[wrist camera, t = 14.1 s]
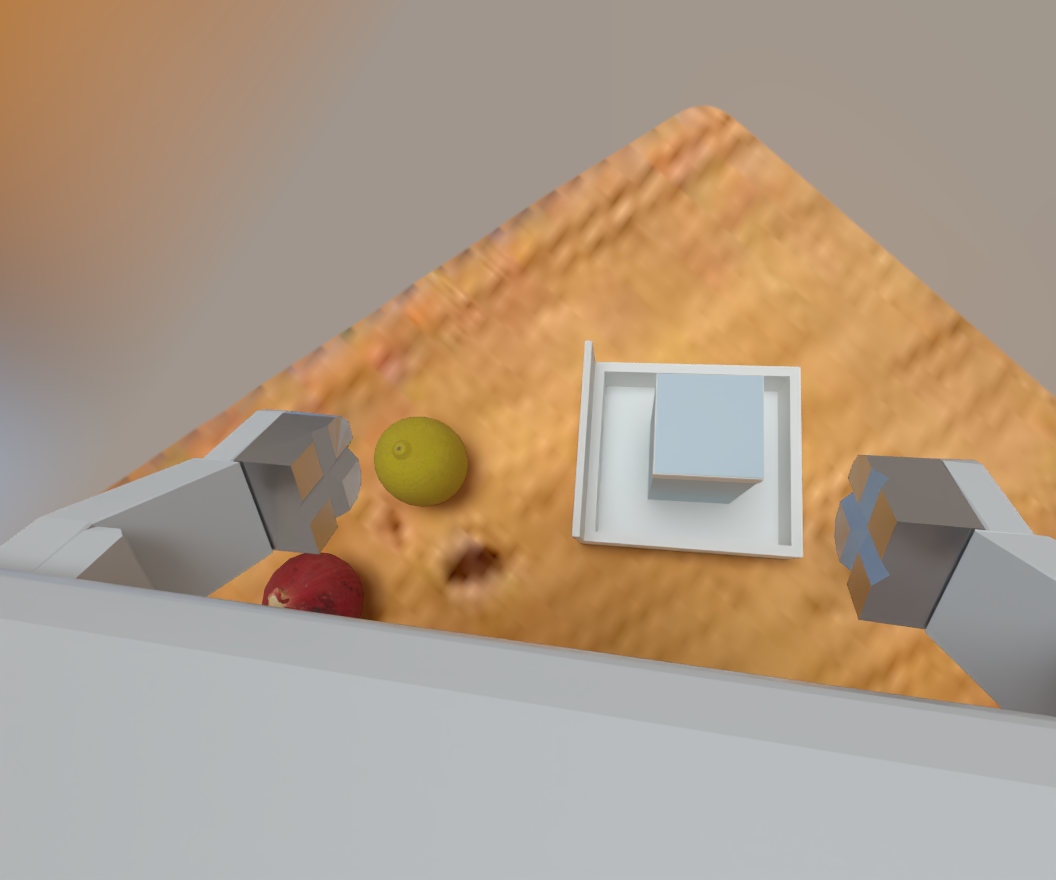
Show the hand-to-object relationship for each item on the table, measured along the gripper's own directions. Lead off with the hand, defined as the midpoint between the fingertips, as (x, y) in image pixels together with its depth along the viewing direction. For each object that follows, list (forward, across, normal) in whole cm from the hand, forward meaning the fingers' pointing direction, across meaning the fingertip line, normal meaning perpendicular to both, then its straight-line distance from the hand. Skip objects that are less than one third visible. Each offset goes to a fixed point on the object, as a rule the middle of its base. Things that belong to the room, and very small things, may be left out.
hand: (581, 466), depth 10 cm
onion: (+17, +18, +25) cm, 35 cm away
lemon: (+24, +12, +19) cm, 33 cm away
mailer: (+25, -4, +17) cm, 31 cm away
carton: (+25, -4, +17) cm, 30 cm away
